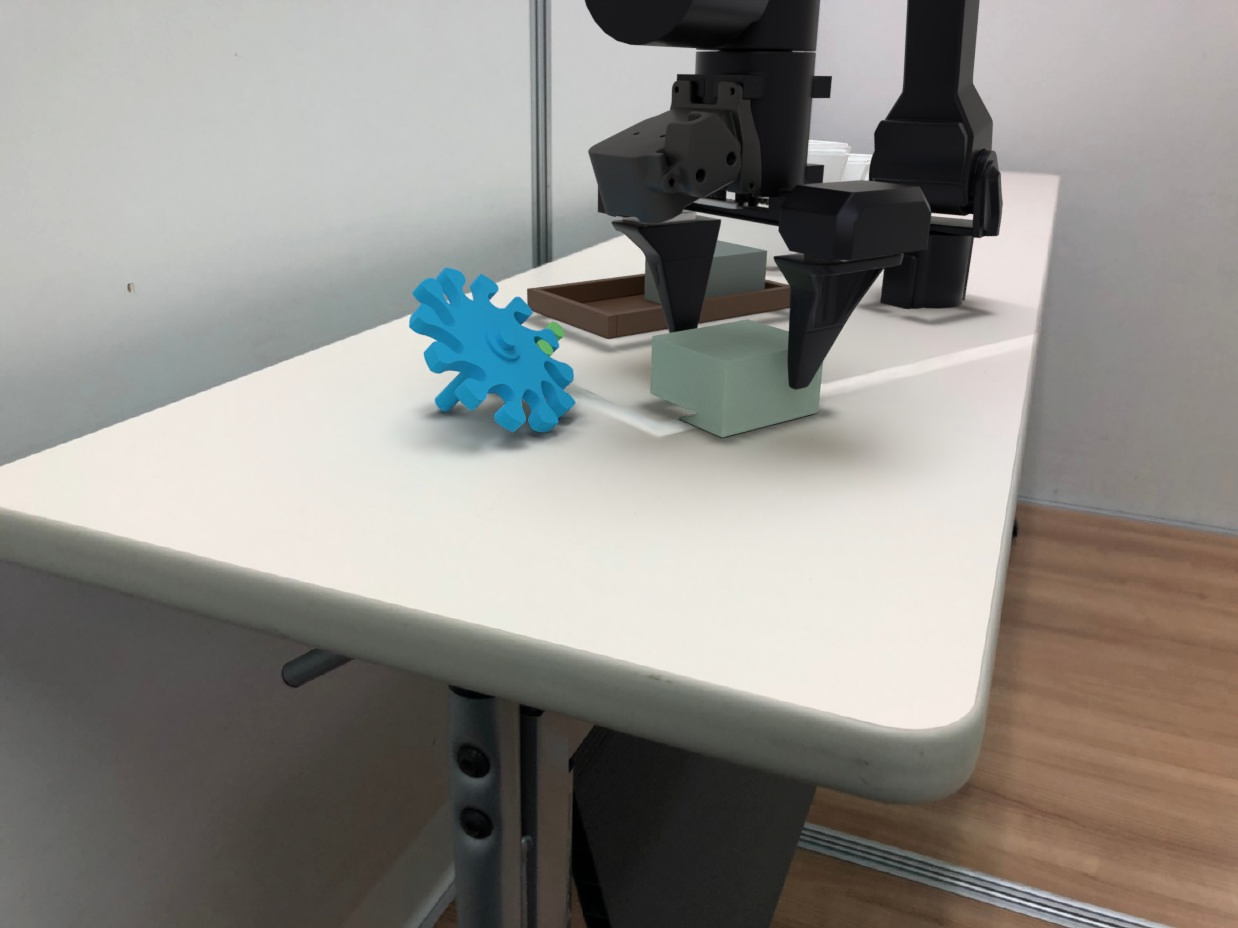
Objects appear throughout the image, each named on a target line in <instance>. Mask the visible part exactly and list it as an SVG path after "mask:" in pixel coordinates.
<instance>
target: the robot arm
mask: <svg viewBox="0 0 1238 928" xmlns="http://www.w3.org/2000/svg"><path fill="white" fill-rule="evenodd" d="M980 2H981V0H906V3H907V4H906V18H905V19H906V20H905V36H904V39H905V40H904V57H903V58H904V59H903V78H902V89H901V93H900V95H899V96H898V98H897V100H896V101H895V102H894V104H893V106H892V107H891V109H890V110H889V112H888V114H887V115H886V117H885V118H884V119H881V120H880V121H879V123H877V125H876V127H875V130H874V132H873V146H874V147H873V150H874V151H873V153H872V154H871V155H872V158H871V162H870V167H869V181H866V180H855V181H841V182H828V183H823V175H824V165H820V164H810V163H807V157H808V145H809V140H810V133H811V119H812V108H813V107H812V105H813V99H831V93H832V84H833V83H832V82H833V81H832V80H833V75H815V70H816V69H815V68H816V57H817V53H816V51H817V46H818V45H817V44H818V32H819V21H820V9H821V7H820V6H821V0H584V3H585V7H586V9H587V11H588V12H589V14H590V17H591V18H592V20H593V22H594V23H595V24H596V25H597V26H598V27H599V29H600V30H601V31H602V32H603V33H604V34H605V35H607V36H608V37H610V38H611V39H613V40H614V41H616V42H619V43H623V44H625V45H626V44H627V45H629V46H642V47H643V46H644V47H659V48H660V47H662V48H663V47H664V48H680V49H695V61H694V62H695V64H694V69H695V70H694V73H677V74H676V80H675V81H674V82H673V83H672V86H671V100H670V101H671V102H670V107H669V110H666V111H664V112H662V113H659V114H657V115H654V116H650V117H648V118H646V119H643V120H641V121H638V122H637V123H635V124H633V125H631V126H629V127H627V128H625V129H623V130H621V131H619V132H617V133H615V134H613V135H610V137H607V138H605V139H602V140H601V141H599V142H597V143H596V144H593V145H592V146H591V147H589V148H588V150H587V154H588V157H589V160H590V164H591V167H592V170H593V174H594V177H595V181H596V184H597V213H599V214H605V215H607V216H609V217H613V218H616V217H619V218H621V219H614V220H612V221H610V222H611V225H612V227H613V228H614V230H615V231H617V232H620V233H622V234H623V235H625V236H626V237H627V238H628V239H629V240H630V241H631V242H632V243H633V244H634V245H635V246H636V247H637V248H638V249H640V251H641V252H642V253H643V255H644V258H645V257H646V260H647V263H648V265H649V268H650V271H651V274H652V276H653V279H654V283H655V286H656V289H657V293H658V296H659V299H660V303H661V306H662V309H663V313H664V316H665V320H666V323H667V326H668V329H667V330H668V333H673V332H679V331H685V330H690V329H696V328H699V321H700V316H701V312H702V307H703V303H704V298H705V293H706V289H707V284H708V280H709V275H710V271H711V266H712V262H713V257H714V253H715V248H716V244H717V239H718V235H719V230H720V226H721V219H716V218H710V217H705V216H699V215H696V212H700V213H705V214H711V215H716V216H722V217H728V218H733V219H739V220H744V221H750V222H756V223H761V224H767V225H773V226H778V227H779V229H778V231H779V233H780V235H781V237H782V239H783V240H784V242H785V244H786V246H787V248H788V249H789V251H792V252H797V253H795V254H788V255H780V256H774V261H775V263H776V265H777V266H778V267H777V268H778V269H779V271H780V273H781V275H782V276H783V277H784V279H785V281H786V282H787V285H789V286H790V293H791V294H790V308H789V314H788V331H789V334H788V355H787V366H788V383H789V387H790V388H791V389H794V390H798V389H802V388H806V387H808V386H809V384H810V383H811V381H812V379H813V378H814V376H815V374H816V373H817V371H818V369H819V368H820V366H821V364H822V362H823V363H824V361H825V360H826V358H827V356H828V354H829V352H830V350H831V349H832V347H833V346H834V344H835V342H836V341H837V339H838V337H839V335H840V334H841V332H842V330H843V329H844V327H845V325H846V324H847V322H848V321H849V320H850V317H851V316H852V314H853V312H854V311H855V309H856V308H857V307H858V305H859V304H860V302H861V301H862V299H863V298H864V297H865V295H866V294H867V293H868V292H869V290H870V289H871V287H872V286H873V285H874V283H875V282H876V280H877V279H878V278H879V276H880V275H881V274H882V281H881V289H880V298H879V299H880V300H879V303H880V304H882V305H887V306H892V307H896V308H900V309H905V310H919V309H920V310H921V309H952V308H956V307H959V306H962V304H963V301H965V300H966V295H967V288H968V281H969V275H970V268H971V263H972V254H973V249H974V248H973V247H974V241H975V239H981V238H984V237H998V236H1000V230H1001V223H1002V216H1003V206H1004V201H1003V190H1002V189H1003V188H1002V173H1001V172H1000V169H999V162H998V155H997V152H996V150H993V132H994V120H993V118H992V115H991V114H990V112H989V110H988V108H987V107H986V105H985V102H984V100H983V99H982V97H981V96H980V93H979V91H978V90H977V88H976V86H975V84H974V72H975V59H976V50H977V49H976V47H977V39H978V38H977V36H978V25H979V15H980V14H979V13H980ZM727 192H732V193H735V200H732V199H727V198H726V194H727ZM758 204H762V205H768V208H767V207H761V206H758ZM932 214H937V215H947V216H958V217H959V216H960V217H966V216H968V215H972V219H968V218H958V217H946V216H937V215H936V216H935V215H932ZM882 272H883V273H882Z"/></svg>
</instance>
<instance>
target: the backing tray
mask: <svg viewBox="0 0 1238 928" xmlns="http://www.w3.org/2000/svg"><path fill="white" fill-rule="evenodd" d="M790 294H791V293H790V286H789V284H788V283H787V284H786V283H782V282H779V281H775V280H770V279H766V278H765V289H764V290H758V291H751V292H745V293H738V294H731V295H725V296H718V297H712V298H705V299H704V303H703V307H702V312H701V316H700V321H699V324H700V325H701V324H706V323H711V322H717V321H723V320H729V319H734V318H741V317H747V316H752V315H753V316H754V315H758V314H764V313H769V312H776V311H781V310H787V309H790ZM644 296H645V273H636V274H630V275H622V276H613V277H606V278H599V279H591V280H584V281H576V282H570V283H569V282H567V283H559V284H553V285H545V286H537V287H529V288H526V304H527V305H528V306H529V307H530V309H531V310H532V312H533V313H536V314H538V315H542V316H544V317H547V318H549V319H552V320H555V321H558V322H560V323H563V324H566V325H569V326H571V327H574V328H577V329H579V330H581V331H584V332H588V333H589V334H593V335H595V336H598V337H601V338H604V339H606V340H612V339H618V338H623V337H630V336H636V335H642V334H647V333H652V332H659V331H664V330H668V326H667V323H666V320H665V316H664V313H663V309H662V306H661V304H658V303H655V302H652V301H648V300H645V299H644ZM699 324H698V325H699Z"/></svg>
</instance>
